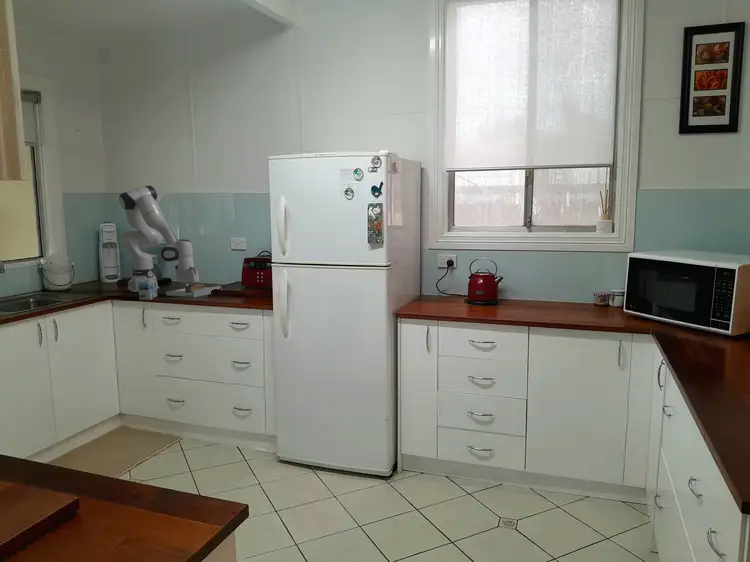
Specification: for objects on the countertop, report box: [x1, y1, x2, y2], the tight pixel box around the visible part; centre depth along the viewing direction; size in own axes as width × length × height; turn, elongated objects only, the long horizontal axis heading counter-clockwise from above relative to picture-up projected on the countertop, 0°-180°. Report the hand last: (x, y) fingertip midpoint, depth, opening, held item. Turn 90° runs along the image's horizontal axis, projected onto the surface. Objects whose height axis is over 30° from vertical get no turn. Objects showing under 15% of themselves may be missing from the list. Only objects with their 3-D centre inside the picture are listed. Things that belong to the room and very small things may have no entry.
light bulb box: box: [138, 278, 158, 301], centre depth 338 cm, size 11×7×11 cm, turn 179°
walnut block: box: [184, 282, 205, 293], centre depth 343 cm, size 5×10×4 cm, turn 151°
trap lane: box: [165, 285, 222, 298], centre depth 349 cm, size 25×21×4 cm
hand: (188, 289), depth 345 cm, fingers closed
